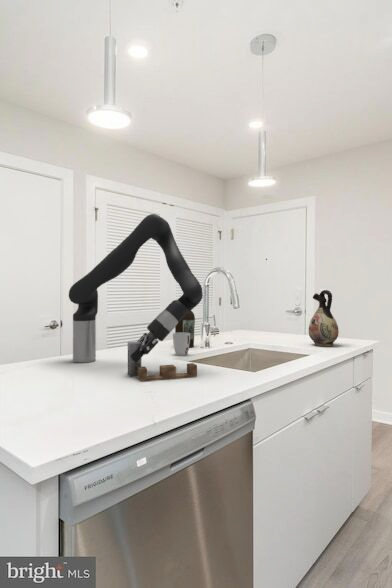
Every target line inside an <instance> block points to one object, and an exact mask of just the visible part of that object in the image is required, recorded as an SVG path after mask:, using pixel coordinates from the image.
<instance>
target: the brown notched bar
mask: <svg viewBox="0 0 392 588" xmlns="http://www.w3.org/2000/svg"><path fill="white" fill-rule="evenodd" d="M197 377H198V365H197V364H196V363H195V362H192V363H189V362H188V363H186V372H177V366H176V365H174V364H164V365H163V364H160V365H159V374H152V375H148V368H147V367H146V366H141V367H138V376H137V380H138V381H139V382H150V381H151V382H152V381H161V380H173V379H185V378H186V379H187V378H197Z"/></svg>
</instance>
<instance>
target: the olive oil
mask: <svg viewBox="0 0 392 588" xmlns="http://www.w3.org/2000/svg"><path fill="white" fill-rule="evenodd" d="M195 317H196V316H195V314H194V312H193V311H192V310H191V311H189V312H188V313H187V314H186V315H185V316H184V317H183V318H182V319H181V320H180V321H179V322H178V324H177V325H176V327H175V328H174V331H175V332H174V333H178V332H186V333H190V344H189V349H192V348H194V347H195V327H196V326H195V324H196V318H195Z"/></svg>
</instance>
